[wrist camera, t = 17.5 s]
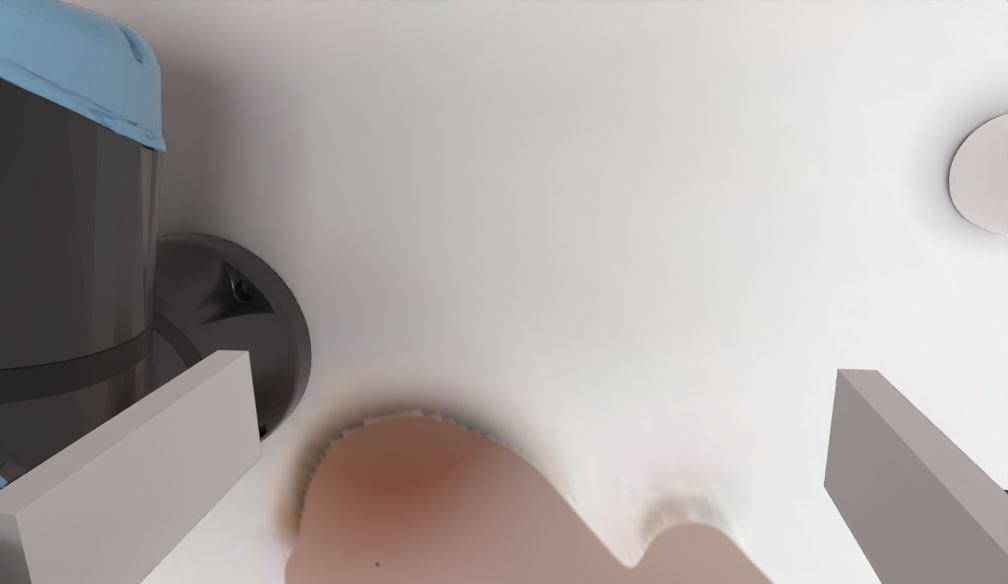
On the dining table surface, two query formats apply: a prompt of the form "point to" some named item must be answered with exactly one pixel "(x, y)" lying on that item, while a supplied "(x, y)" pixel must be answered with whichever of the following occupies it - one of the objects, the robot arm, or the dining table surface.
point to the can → (983, 177)
